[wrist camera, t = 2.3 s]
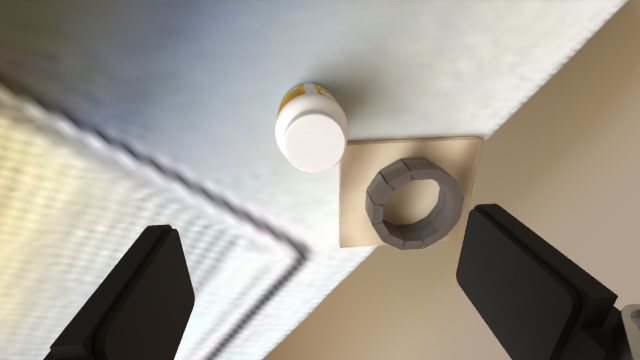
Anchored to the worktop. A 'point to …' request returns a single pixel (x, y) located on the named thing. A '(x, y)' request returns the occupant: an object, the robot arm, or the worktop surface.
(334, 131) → the supplement bottle
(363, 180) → the collar board
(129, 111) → the worktop surface
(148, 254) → the robot arm
